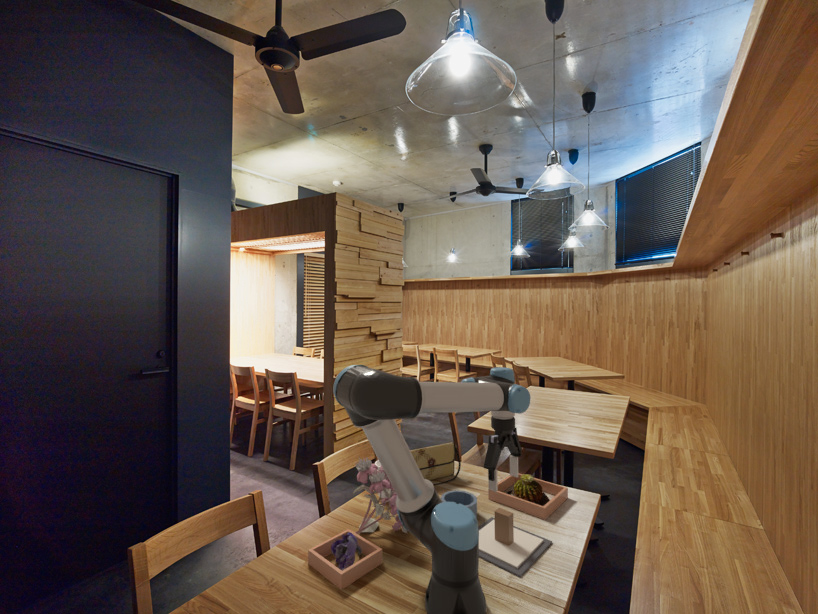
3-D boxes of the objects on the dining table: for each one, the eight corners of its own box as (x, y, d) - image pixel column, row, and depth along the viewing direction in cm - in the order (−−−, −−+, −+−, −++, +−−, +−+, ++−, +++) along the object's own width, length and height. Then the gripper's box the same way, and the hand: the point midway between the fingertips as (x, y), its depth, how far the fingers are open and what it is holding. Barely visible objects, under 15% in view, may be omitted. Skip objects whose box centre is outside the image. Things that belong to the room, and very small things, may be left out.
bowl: (463, 529, 130) (463, 511, 131) (434, 515, 139) (433, 499, 139) (483, 514, 140) (483, 497, 140) (455, 502, 149) (454, 487, 149)
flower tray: (341, 589, 102) (341, 574, 102) (308, 563, 113) (308, 549, 113) (382, 562, 113) (382, 549, 113) (348, 541, 124) (348, 528, 124)
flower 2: (375, 560, 111) (405, 473, 119) (327, 525, 126) (357, 449, 133) (412, 559, 126) (437, 481, 133) (366, 528, 140) (390, 459, 147)
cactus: (496, 497, 153) (496, 473, 154) (521, 486, 163) (521, 463, 163) (533, 515, 140) (533, 488, 140) (558, 502, 149) (558, 477, 150)
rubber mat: (520, 577, 106) (520, 575, 106) (455, 545, 121) (455, 544, 121) (552, 542, 122) (552, 541, 122) (491, 518, 137) (491, 517, 137)
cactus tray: (544, 519, 136) (544, 508, 136) (488, 498, 152) (488, 488, 152) (567, 497, 152) (567, 487, 153) (514, 481, 168) (514, 472, 168)
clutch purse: (405, 493, 158) (405, 456, 158) (398, 486, 164) (397, 451, 164) (464, 478, 172) (464, 444, 172) (455, 472, 178) (455, 440, 178)
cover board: (517, 569, 109) (516, 534, 109) (464, 543, 121) (464, 513, 121) (543, 541, 122) (543, 511, 122) (493, 521, 134) (493, 493, 135)
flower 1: (356, 525, 121) (338, 525, 113) (374, 546, 116) (357, 547, 108) (338, 552, 119) (319, 554, 112) (356, 574, 114) (337, 577, 106)
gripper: (493, 427, 111) (494, 500, 111) (531, 410, 129) (532, 473, 129) (471, 422, 116) (472, 492, 116) (510, 407, 134) (511, 468, 134)
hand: (504, 483), depth 122 cm, fingers open, 13 cm apart
